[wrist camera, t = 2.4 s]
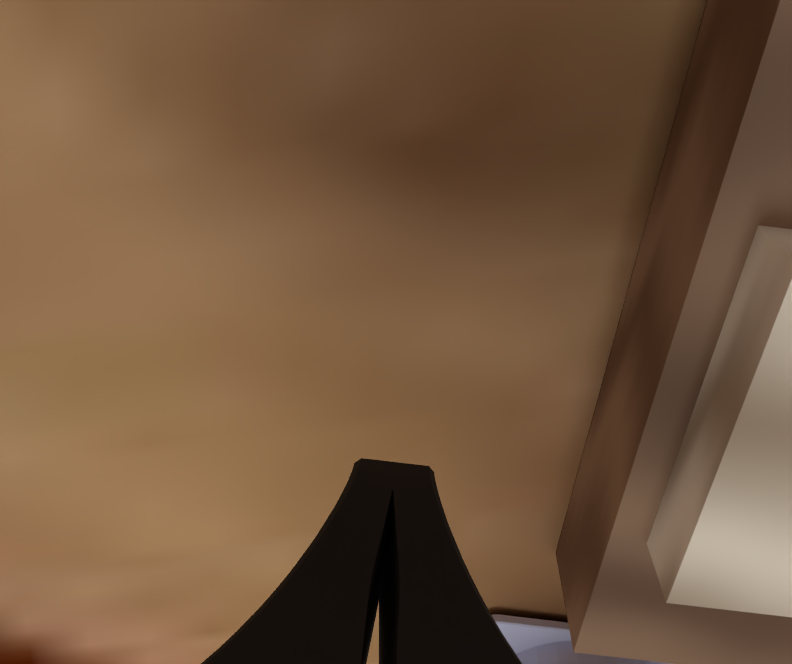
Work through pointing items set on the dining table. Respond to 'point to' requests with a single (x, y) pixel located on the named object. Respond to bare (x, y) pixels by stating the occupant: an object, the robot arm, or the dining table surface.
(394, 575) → the robot arm
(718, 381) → the birch tile
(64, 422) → the dining table surface
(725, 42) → the walnut board
